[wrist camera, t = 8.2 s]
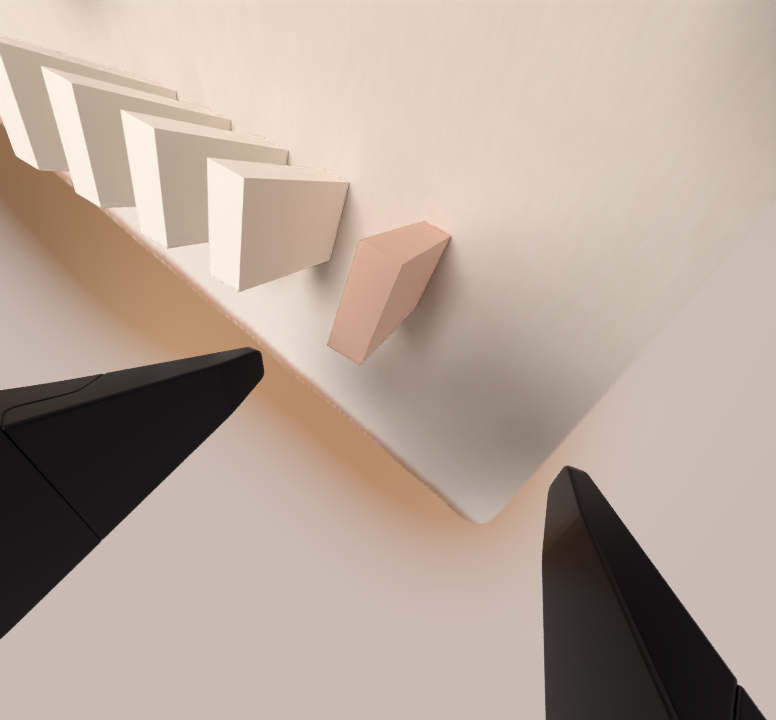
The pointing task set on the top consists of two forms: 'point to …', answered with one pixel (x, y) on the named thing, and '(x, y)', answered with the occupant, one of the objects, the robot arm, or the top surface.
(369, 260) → the domino
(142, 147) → the domino
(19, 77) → the domino
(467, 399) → the top surface
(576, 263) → the top surface
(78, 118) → the domino
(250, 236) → the domino
